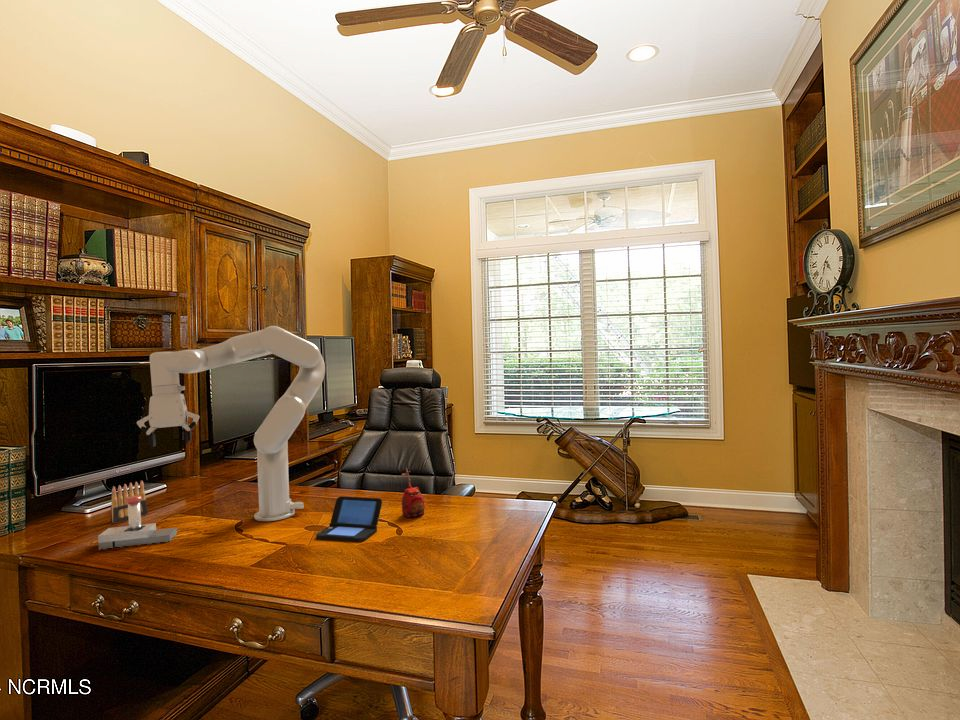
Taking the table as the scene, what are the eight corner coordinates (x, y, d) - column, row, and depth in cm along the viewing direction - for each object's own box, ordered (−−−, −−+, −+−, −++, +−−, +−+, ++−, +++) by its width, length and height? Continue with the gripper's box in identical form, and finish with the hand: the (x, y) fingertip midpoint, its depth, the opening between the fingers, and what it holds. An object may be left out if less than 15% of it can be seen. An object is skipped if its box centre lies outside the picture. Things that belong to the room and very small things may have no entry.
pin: (145, 539, 156) (144, 494, 156) (141, 543, 152) (139, 498, 152) (130, 540, 155) (128, 496, 155) (125, 545, 151) (123, 499, 151)
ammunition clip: (113, 523, 172) (112, 487, 172) (110, 522, 173) (109, 486, 173) (147, 514, 182) (146, 479, 182) (144, 513, 183) (143, 479, 182)
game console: (313, 540, 151) (312, 508, 151) (338, 524, 164) (337, 495, 164) (362, 543, 147) (361, 511, 147) (384, 527, 160) (383, 497, 160)
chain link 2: (177, 534, 159) (176, 527, 159) (169, 541, 153) (169, 535, 153) (124, 539, 156) (124, 533, 156) (114, 548, 149) (114, 541, 149)
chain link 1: (156, 536, 158) (155, 523, 158) (148, 544, 151) (147, 530, 151) (109, 541, 155) (108, 528, 155) (98, 549, 148) (98, 535, 148)
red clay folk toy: (409, 520, 166) (407, 472, 165) (397, 515, 171) (395, 469, 171) (428, 514, 171) (427, 468, 170) (416, 510, 176) (415, 465, 176)
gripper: (199, 387, 171) (203, 440, 171) (138, 392, 166) (143, 446, 166) (194, 389, 164) (198, 443, 164) (130, 394, 159) (135, 450, 159)
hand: (170, 444), depth 165 cm, fingers open, 9 cm apart
